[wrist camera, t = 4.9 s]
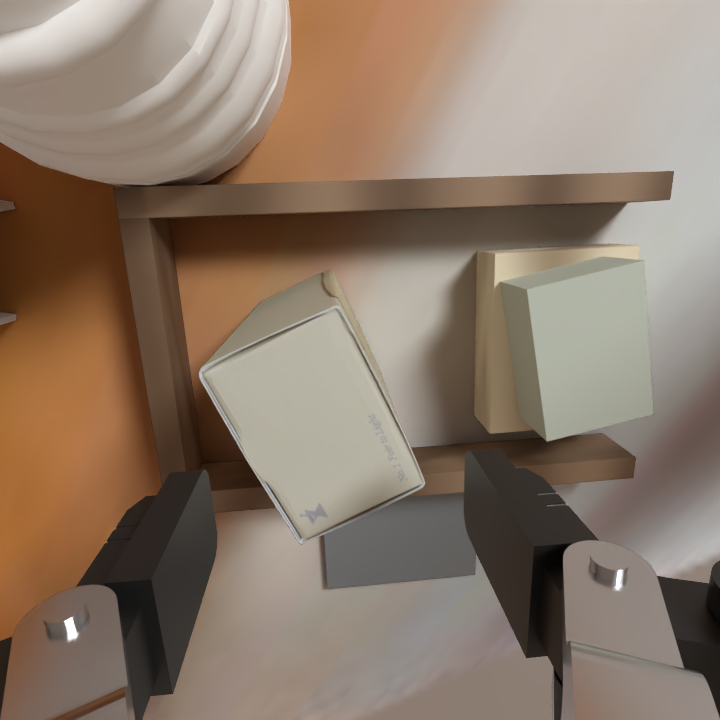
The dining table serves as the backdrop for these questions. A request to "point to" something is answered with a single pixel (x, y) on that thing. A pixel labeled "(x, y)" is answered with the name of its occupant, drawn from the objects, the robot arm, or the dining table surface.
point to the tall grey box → (3, 317)
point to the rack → (160, 203)
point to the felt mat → (402, 543)
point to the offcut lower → (491, 343)
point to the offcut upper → (580, 345)
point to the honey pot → (141, 85)
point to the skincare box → (312, 409)
